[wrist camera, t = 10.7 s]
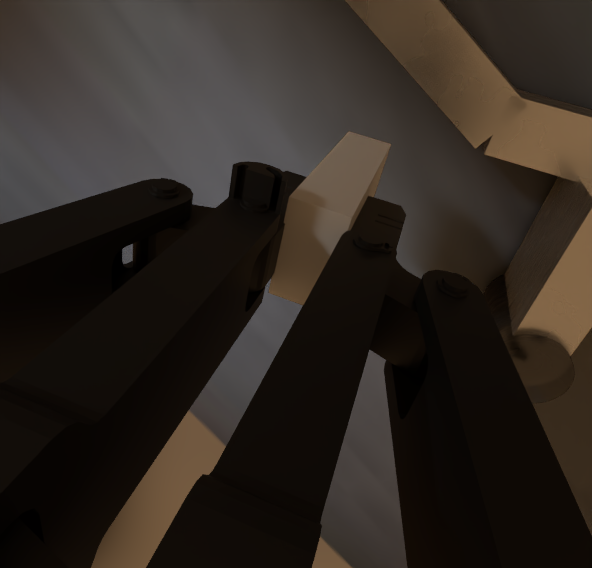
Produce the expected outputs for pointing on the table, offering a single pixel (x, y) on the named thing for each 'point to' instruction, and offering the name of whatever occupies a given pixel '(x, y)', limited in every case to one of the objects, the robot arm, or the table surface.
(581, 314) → the indicator ring
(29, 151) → the table surface
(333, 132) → the table surface
